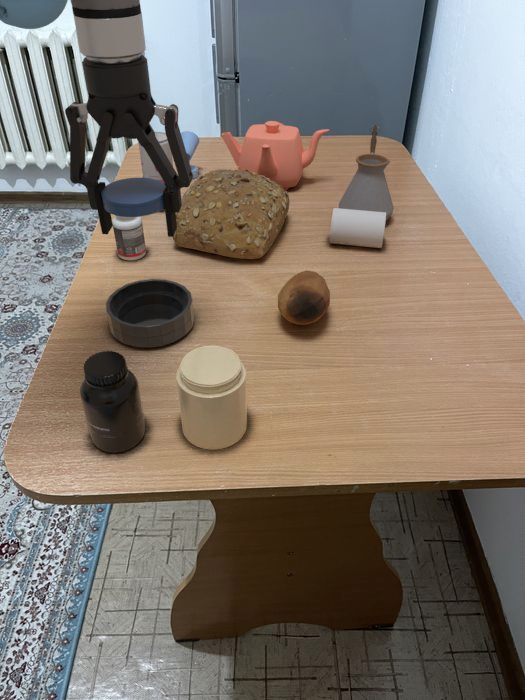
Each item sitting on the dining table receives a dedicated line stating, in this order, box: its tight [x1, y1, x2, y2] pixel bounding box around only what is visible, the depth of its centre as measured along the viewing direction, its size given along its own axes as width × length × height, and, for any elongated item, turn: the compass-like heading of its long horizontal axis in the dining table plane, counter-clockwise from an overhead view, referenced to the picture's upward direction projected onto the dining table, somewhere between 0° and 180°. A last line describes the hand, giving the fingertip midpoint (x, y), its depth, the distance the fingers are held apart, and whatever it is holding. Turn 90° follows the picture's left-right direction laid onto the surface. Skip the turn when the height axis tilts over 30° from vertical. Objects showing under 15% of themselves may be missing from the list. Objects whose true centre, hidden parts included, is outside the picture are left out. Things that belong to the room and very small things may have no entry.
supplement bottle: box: [79, 350, 146, 453], centre depth 69 cm, size 7×7×12 cm
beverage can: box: [137, 131, 174, 212], centre depth 120 cm, size 7×7×15 cm
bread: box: [172, 168, 290, 260], centre depth 111 cm, size 24×21×12 cm
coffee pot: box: [338, 124, 395, 221], centre depth 120 cm, size 21×12×15 cm, turn 169°
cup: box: [329, 207, 387, 249], centre depth 110 cm, size 7×7×10 cm
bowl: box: [105, 278, 195, 349], centre depth 89 cm, size 13×13×4 cm
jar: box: [175, 344, 248, 450], centre depth 70 cm, size 8×8×10 cm
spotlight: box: [180, 130, 200, 179], centre depth 136 cm, size 5×10×7 cm
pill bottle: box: [112, 215, 147, 261], centre depth 105 cm, size 5×5×10 cm
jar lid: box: [101, 177, 166, 217], centre depth 77 cm, size 9×9×2 cm
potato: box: [277, 270, 331, 326], centre depth 90 cm, size 8×14×8 cm
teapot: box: [221, 120, 330, 191], centre depth 131 cm, size 18×18×14 cm
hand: (139, 230), depth 80 cm, fingers closed on jar lid, 9 cm apart
